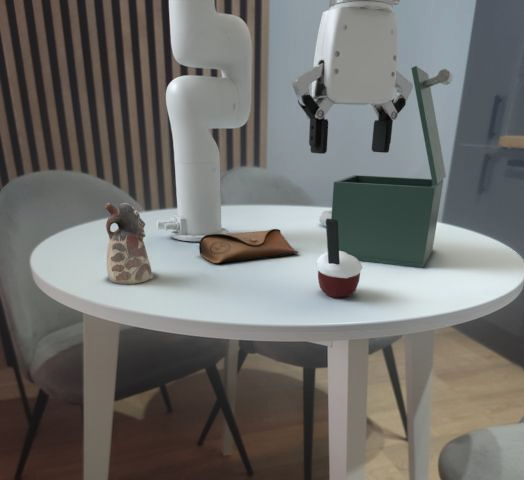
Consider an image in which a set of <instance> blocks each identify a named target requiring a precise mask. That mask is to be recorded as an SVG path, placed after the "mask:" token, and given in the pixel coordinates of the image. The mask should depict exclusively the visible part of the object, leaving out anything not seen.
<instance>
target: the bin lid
mask: <svg viewBox="0 0 524 480" xmlns="http://www.w3.org/2000/svg"><path fill="white" fill-rule="evenodd" d="M411 74H412V80H413V86H414V90H415V95H416V101H417V107H418V112H419V113H418V114H419V119H420V123H421V128H422V134H423V140H424V146H425V149H426V156H427V160H428V167H429V173H430V177H431V178H430V179H432V184H433V185H437V184H438V183H440V182H441V181H442V180H443V181H444V179H445V178H446V177H447V174H446V168H445V163H444V157H443V151H442V145H441V141H440V139H441V138H440V136H439V128H438V123H437V118H436V111H435V105H434V99H433V94H432V88H431V87H434V86H436V85H438V84H441V85H443V86H448V85H450V84H451V83H452V82H453V74H452V73H451V72H450V71H449V70H448V69H446V68H442V69H440V70H439V71H438V72H437V74H436V76H433V77H431V78H430V76H429V73H428V72H426V71H424V70H423V69H421V68H420V67H418V66H417V65H415V66H413V67H411Z"/></svg>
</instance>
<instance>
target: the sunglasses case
mask: <svg viewBox="0 0 524 480" xmlns="http://www.w3.org/2000/svg"><path fill="white" fill-rule="evenodd" d="M198 243H199V244H198V249H199V255H200V257H202V258H203V259H204V260H206V261H207V262H210V263H211V264H222V263H223V264H224V263H229V262H236V261H237V262H238V261H249V260H259V259H271V258H272V259H273V258H279V257H284V256H289V255H292V254H298V251H297V250H295V249H294V248H293V246H291V244H290V243H289V242H288V240H287V239H286V238H285V237H284V235H283V234H282V232H281V230H280V228H279V229H278V228H271V229H269V230H259V231H258V230H257V231H245V232H235V233H229V234H211V235H206V236H204V237H203V238H202V239H201V240H200V242H198Z"/></svg>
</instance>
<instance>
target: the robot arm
mask: <svg viewBox="0 0 524 480" xmlns="http://www.w3.org/2000/svg"><path fill="white" fill-rule="evenodd" d="M399 2H400V0H329V6H328V7H329V9H327V10H324V11H323V12H322V14H321V18H320V23H319V27H318V32H317V37H316V44H315V51H314V58H313V67H311V68H310V69H308V70H306V71H305V72H303V73H302V74H299V75H298V76H296V77H295V78H293V79H292V81H291V83H292V84H291V85H292V87H293V91H294V93H295V96H296V98H297V103H298V105H299V107H300V108H301V109H302V110H303V112H304V113H305V116H306V119H308V120H309V132H308V134H309V135H308V138H309V139H308V144H309V146H310V153H312V154H321V155H324V154H326V153H327V151H328V137H329V135H328V134H329V119H328V118H326V117H325V116H326V115H327V114H328V113H329V112H330V110H331V108H332V107H333V105H354V106H355V105H356V106H357V105H359V106H361V105H362V106H363V105H365V106H366V105H371V107H372V109H373V110H374V113H375V114H376V116H377V119H376V120H374V121H373V130H372V141H371V151H372V152H373V153H384V154H387V153H389V152H390V146H391V141H392V132H393V124H394V123H393V122H394V121H395V120H397V119H398V116H399V113H401V111H402V110H403V109H404V108H405V106H406V103H407V101H408V98H409V97H410V95H411V92H412V90H413V86H414V84H413V83H412V82H411V81H409V80H408V79H407V78H406V77H405V76H403V75H402V73H400V72H398V71H397V64H398V30H397V29H398V28H397V27H398V25H397V15H396V12H394V11H393V7H394V6H397V5H398V4H399ZM215 5H216V3H215V0H168V13H169V15H168V16H169V34H170V46H171V50H172V51H171V52H172V55H173V58H174V60H175V61H176V62H177V63H178V64H179V65H182V66H183V67H188V68H196V69H209V70H220V73H221V77H220V76H210V75H194V74H193V75H191V74H189V75H181V76H178V77H175V78H174V79H172V80H171V81H170V82H169V83H168V85H167V87H166V91H165V105H166V109H167V114H168V119H169V123H170V130H171V135H172V143H173V158H174V159H173V160H174V170H175V171H174V172H175V173H174V175H175V188H176V189H175V191H176V192H175V193H176V208H177V209H176V210H177V214H173V217H171V218H170V219H158V220H156V224H155V225H156V229H157V230H165V231H170V230H171V237H172V238H173V239H175V240H177V241H178V240H179V241H183V242H196V243H197V242H198V243H200V240H201V239H202V238H203V237H204V236H206V235H211V234H230V233H229V230H228V229H227V228H225V227H222V195H221V194H222V191H221V154H220V150H219V146H218V144H217V141H216V140H215V138H214V137H213V136H212V134H211V132H210V130H212V129H239V128H241V127H243V126H244V125H246V123H247V122H248V120H249V118H250V114H251V109H252V108H251V107H252V80H253V79H252V78H253V77H252V75H253V74H252V71H253V68H252V67H253V43H252V37H251V33H250V29H249V26H248V25H247V23H246V22H245V21H244V20H243V19H242V18H241V17H239V16H238V15H235V14H229V13H223V12H217V9H216V6H215ZM310 84H311V95H310V89H309V87H310ZM395 90H396V92H395ZM394 92H395V95H394ZM393 96H395V97H394V98H393Z"/></svg>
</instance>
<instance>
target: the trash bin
mask: <svg viewBox="0 0 524 480" xmlns="http://www.w3.org/2000/svg"><path fill="white" fill-rule="evenodd" d="M443 185H444V179H443V180H442V181H441V182H440V183H438V184H437V185H433V184H432V178H417V177H399V176H397V177H396V176H381V175H380V176H378V175H377V176H376V175H358V174H353V175H350V176H347V177H344V178H341V179H339V180H336V181H333V190H332V201H331V210H332V216H331V219H334V220H337V221H338V237H339V251H343V252H346V253H347V254H349V255H352V256H354V257H355V258H357V259H358V261H359V262H368V263H378V264H384V265H385V264H386V265H394V266H404V267H413V268H419V269H420V268H421V269H422V268H424V266H425V264H426V263H427V262H428V259H429V258H430V256H431V254H432V253H433V249H434V242H435V236H436V231H437V224H438V219H439V211H440V205H441V198H442V194H443V193H442V191H443Z"/></svg>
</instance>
